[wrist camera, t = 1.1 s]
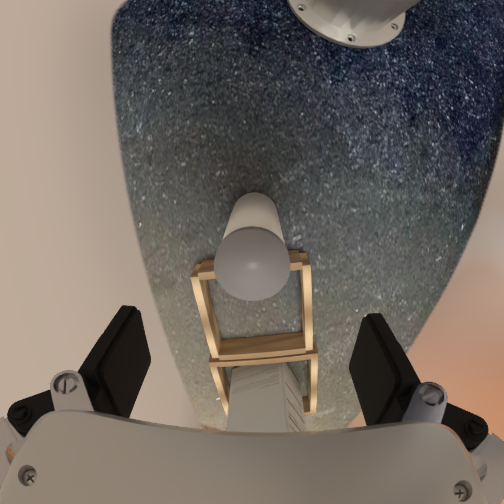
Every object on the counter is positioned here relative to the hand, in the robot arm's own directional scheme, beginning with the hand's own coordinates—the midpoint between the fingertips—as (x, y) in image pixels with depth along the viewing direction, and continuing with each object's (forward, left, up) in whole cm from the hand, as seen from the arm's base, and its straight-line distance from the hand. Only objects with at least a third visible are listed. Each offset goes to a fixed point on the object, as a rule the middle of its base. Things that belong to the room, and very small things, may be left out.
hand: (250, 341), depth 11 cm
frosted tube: (0, 0, -19) cm, 19 cm away
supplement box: (+22, +2, -19) cm, 29 cm away
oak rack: (+16, +1, -19) cm, 24 cm away
